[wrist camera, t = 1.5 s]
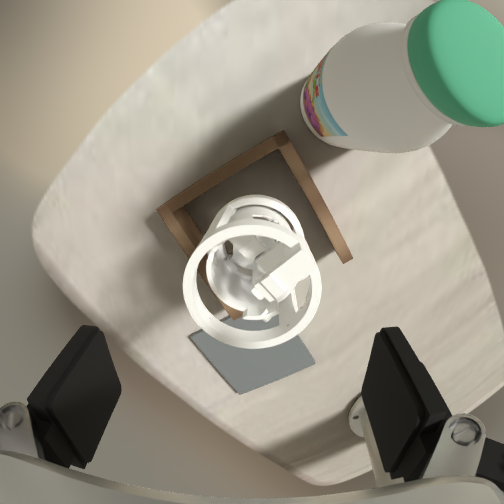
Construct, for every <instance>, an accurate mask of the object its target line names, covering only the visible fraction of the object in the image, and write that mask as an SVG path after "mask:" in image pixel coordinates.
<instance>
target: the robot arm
mask: <svg viewBox="0 0 504 504" xmlns="http://www.w3.org/2000/svg"><path fill="white" fill-rule="evenodd" d="M120 395H121V384H120V381H119V378H118V376H117V373H116V370H115V367H114V364H113V361H112V358H111V355H110V353H109V349H108V346H107V343H106V340H105V336H104V334H103V332H102V331H100V330H99V328H98V327H96V326H87V325H82V326H81V327H80V328H79V329H78V331H77V332H76V333H75V335H74V336H73V337H72V338H71V340H70V341H69V342H68V344H67V345H66V346H65V348H64V349H63V350H62V351H61V353H60V354H59V355H58V357H57V358H56V359H55V361H54V362H53V363H52V365H51V366H50V367H49V369H48V370H47V371H46V373H45V374H44V376H43V377H42V378H41V380H40V381H39V383H38V384H37V385H36V387H35V388H34V390H33V391H32V393H31V394H30V395H29V397H28V398H27V401H28V402H29V404H28V405H27V407H26V406H25V405H24V404H22V403H20V402H9V403H7V404H5V405H3V406H2V407H1V408H0V504H504V444H502V443H499V442H496V441H494V440H491V439H488V438H486V430H485V427H484V425H483V424H482V422H481V421H480V420H479V419H478V418H476V417H475V416H472V415H470V414H465V413H463V414H456V415H454V416H452V414H451V412H450V410H449V409H448V407H447V405H446V403H445V401H444V399H443V398H442V396H441V394H440V392H439V390H438V389H437V387H436V385H435V383H434V382H433V380H432V378H431V376H430V375H429V373H428V371H427V370H426V368H425V366H424V365H423V363H422V362H420V361H419V359H418V358H417V356H416V354H415V353H414V351H413V349H412V348H411V346H410V344H409V343H408V341H407V340H406V338H405V336H404V335H403V333H402V331H401V330H400V328H399V327H387V328H382V329H381V330H380V332H378V333H376V335H375V338H374V343H373V347H372V351H371V355H370V359H369V363H368V367H367V371H366V375H365V379H364V382H363V386H362V391H361V396H360V397H359V398H358V399H357V400H356V402H355V403H354V405H353V406H352V408H351V410H350V412H349V416H348V419H349V425H350V428H351V430H352V431H353V433H355V434H356V435H358V436H360V437H363V438H365V441H366V445H367V448H368V452H369V456H370V460H371V464H372V468H373V472H374V475H375V479H376V484H377V488H373V489H367V490H361V491H354V492H346V493H339V494H331V495H322V496H311V497H296V498H270V499H269V498H266V499H254V498H253V499H252V498H250V499H249V498H224V497H209V496H198V495H189V494H180V493H172V492H166V491H160V490H154V489H148V488H143V487H138V486H133V485H128V484H124V483H119V482H115V481H111V480H107V479H103V478H99V477H96V476H92V475H88V474H85V473H82V472H79V471H75V470H72V469H69V467H70V465H73V466H76V467H79V468H82V469H85V467H86V464H87V462H88V463H89V462H91V461H92V459H93V456H94V454H95V451H96V449H97V447H98V444H99V442H100V440H101V437H102V435H103V433H104V430H105V428H106V426H107V424H108V421H109V419H110V417H111V415H112V412H113V410H114V408H115V406H116V403H117V401H118V399H119V397H120Z"/></svg>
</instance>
